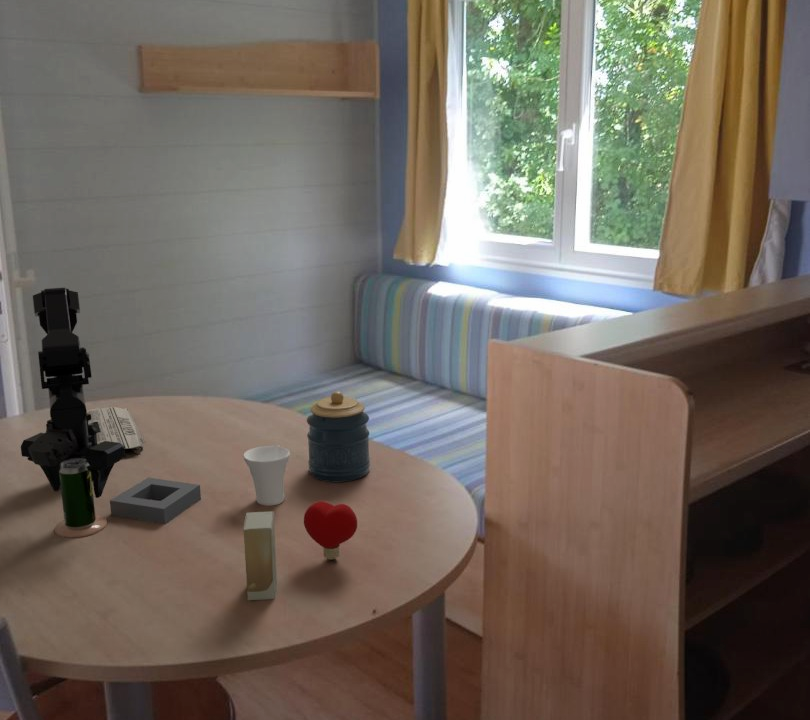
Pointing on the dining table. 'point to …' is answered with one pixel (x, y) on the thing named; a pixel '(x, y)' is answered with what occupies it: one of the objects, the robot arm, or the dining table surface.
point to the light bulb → (330, 526)
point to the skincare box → (260, 555)
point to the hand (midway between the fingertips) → (77, 493)
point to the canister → (338, 439)
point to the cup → (268, 472)
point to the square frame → (143, 508)
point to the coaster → (65, 532)
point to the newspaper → (116, 427)
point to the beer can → (77, 494)
